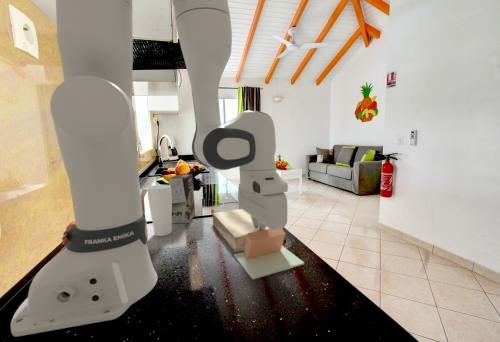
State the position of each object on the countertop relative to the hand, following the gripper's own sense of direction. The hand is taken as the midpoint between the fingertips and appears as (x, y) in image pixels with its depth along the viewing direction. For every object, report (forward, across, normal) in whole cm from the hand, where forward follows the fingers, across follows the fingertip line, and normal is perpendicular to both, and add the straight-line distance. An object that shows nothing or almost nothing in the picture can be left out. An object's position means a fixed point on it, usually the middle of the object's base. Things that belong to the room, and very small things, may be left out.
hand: (259, 234), depth 59 cm
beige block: (+5, -14, 0) cm, 15 cm away
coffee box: (+5, -36, -13) cm, 39 cm away
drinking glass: (+5, -25, -21) cm, 33 cm away
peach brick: (+1, +2, 0) cm, 3 cm away
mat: (+5, +4, 0) cm, 6 cm away
